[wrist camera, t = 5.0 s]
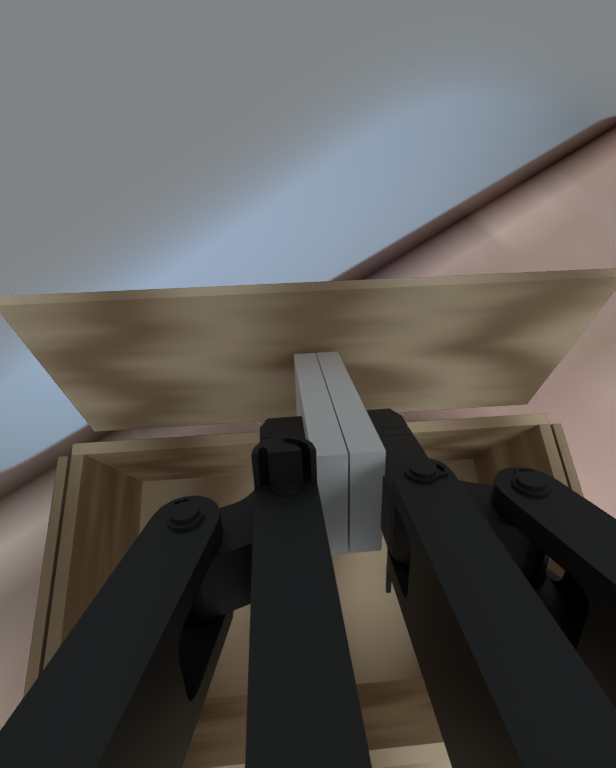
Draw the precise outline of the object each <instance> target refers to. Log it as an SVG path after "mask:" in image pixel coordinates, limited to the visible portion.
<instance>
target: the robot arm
mask: <svg viewBox="0 0 616 768" xmlns="http://www.w3.org/2000/svg"><path fill="white" fill-rule="evenodd" d="M294 367H295V386H296V406H297V416H295V417H281V418H268V419H267V420H266V421H265V422H264V423H263V425H262V426H261V427H260V443H259V444H257V445H256V446H255V447H254V448H253V451H252V453H251V459H252V469H253V478H254V491H253V492H252V493H250V494H249V495H248V496H247V497H245V498H244V499H242V500H240V501H238V502H236V503H233V504H231V505H227V506H224V507H221V508H219V507H218V504H217V503H216V502H215V501H213V500H212V499H210V498H208V497H203V496H185V497H182V498H178V499H175V500H172V501H170V502H169V503H167V504H165V505H163V506H162V507H161V508H160V509H159V510H158V511H157V512H156V513H155V514H154V515H153V516H152V517H151V519H150V520H149V521H148V523H147V524H146V526H145V527H144V528H143V530H142V531H141V533H140V534H139V536H138V537H137V538H136V540H135V541H134V543H133V544H132V545H131V547H130V548H129V550H128V551H127V552H126V554H125V555H124V557H123V558H122V560H121V561H120V562H119V564H118V565H117V567H116V568H115V569H114V571H113V572H112V574H111V575H110V577H109V578H108V579H107V581H106V582H105V584H104V585H103V586H102V588H101V589H100V591H99V592H98V593H97V595H96V596H95V598H94V599H93V601H92V602H91V603H90V605H89V606H88V608H87V609H86V610H85V612H84V613H83V615H82V616H81V617H80V619H79V620H78V622H77V623H76V625H75V626H74V627H73V629H72V630H71V632H70V633H69V634H68V636H67V637H66V639H65V640H64V641H63V643H62V644H61V646H60V647H59V649H58V650H57V651H56V653H55V654H54V656H53V657H52V658H51V660H50V661H49V663H48V664H47V665H46V667H45V668H44V670H43V671H42V673H41V674H40V675H39V677H38V678H37V680H36V681H35V682H34V684H33V685H32V687H31V688H30V689H29V691H28V692H27V694H26V695H25V697H24V698H23V699H22V701H21V702H20V704H19V705H18V706H17V708H16V709H15V711H14V712H13V713H12V715H11V716H10V718H9V719H8V721H7V722H6V723H5V725H4V726H3V728H2V729H1V730H0V768H182V766H183V763H184V760H185V757H186V754H187V751H188V748H189V745H190V742H191V739H192V737H193V734H194V731H195V728H196V725H197V722H198V719H199V716H200V713H201V710H202V707H203V704H204V701H205V698H206V695H207V693H208V690H209V687H210V684H211V681H212V678H213V675H214V672H215V669H216V666H217V663H218V660H219V657H220V654H221V651H222V649H223V646H224V643H225V640H226V637H227V634H228V631H229V628H230V625H231V622H232V619H233V614H234V610H237V609H239V608H242V607H244V606H247V605H249V604H251V606H250V635H249V664H248V694H247V723H246V752H245V768H372V765H371V759H370V754H369V749H368V744H367V739H366V733H365V728H364V723H363V718H362V713H361V707H360V702H359V697H358V692H357V687H356V681H355V676H354V671H353V666H352V661H351V655H350V650H349V645H348V640H347V635H346V629H345V624H344V619H343V614H342V609H341V603H340V598H339V593H338V588H337V583H336V577H335V572H334V567H333V562H332V557H331V555H338V554H348V549H349V553H358V552H368V551H379V550H381V548H382V533H383V536H384V539H385V542H386V545H387V565H386V584H385V585H386V593H391V583H392V584H393V587H394V590H395V593H396V596H397V599H398V602H399V606H400V609H401V612H402V615H403V618H404V621H405V624H406V627H407V630H408V633H409V636H410V639H411V643H412V646H413V649H414V652H415V655H416V658H417V661H418V664H419V667H420V670H421V673H422V676H423V680H424V683H425V686H426V689H427V692H428V695H429V698H430V701H431V704H432V707H433V710H434V714H435V717H436V720H437V723H438V726H439V729H440V732H441V735H442V738H443V741H444V744H445V747H446V751H447V754H448V757H449V760H450V763H451V766H452V768H616V519H615V518H613V517H612V516H610V515H609V514H607V513H606V512H604V511H603V510H601V509H600V508H598V507H597V506H596V505H594V504H593V503H591V502H590V501H588V500H587V499H585V498H584V497H582V496H581V495H579V494H578V493H576V492H575V491H573V490H572V489H570V488H569V487H567V486H566V485H564V484H563V483H561V482H560V481H558V480H557V479H555V478H553V477H551V476H550V475H548V474H546V473H544V472H541V471H537V470H534V469H532V468H526V467H525V468H524V467H511V468H505V469H503V470H501V471H499V472H498V473H497V474H496V476H495V478H494V484H493V485H489V484H481V483H472V482H466V481H461V480H458V478H457V477H456V475H455V474H454V473H453V471H452V470H451V469H450V468H449V467H448V466H447V465H445V464H443V463H441V462H439V461H437V460H435V459H430V458H428V456H427V455H426V453H425V451H424V450H423V448H422V447H421V445H420V444H419V442H418V441H417V439H416V437H415V436H414V435H413V433H412V431H411V430H410V428H409V427H408V425H407V423H406V422H405V420H404V419H403V417H402V416H401V415H399V414H398V413H396V412H395V411H393V410H391V409H390V408H387V409H373V410H366V409H365V407H364V405H363V403H362V401H361V399H360V397H359V395H358V392H357V390H356V388H355V386H354V384H353V382H352V380H351V378H350V376H349V374H348V372H347V370H346V368H345V366H344V364H343V362H342V359H341V357H340V355H339V353H338V351H337V352H321V353H305V354H294ZM551 559H552V560H553V561H554V562H556V563H557V564H558V565H559V566H560V567H561V568H562V569H563V570H565V572H564V576H563V578H562V577H559V576H558V575H556V574H555V573H554V572H552V571H551V570H550V569H549V567H550V563H551Z"/></svg>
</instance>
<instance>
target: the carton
mask: <svg viewBox="0 0 616 768" xmlns="http://www.w3.org/2000/svg"><path fill="white" fill-rule="evenodd" d="M406 423H407V425H408V427H409V428H410V430H411V431H412V433H413V435H414V436H415V437H416V439H417V441H418V442H419V444H420V445H421V447H422V448H423V450H424V451H425V453H426V455H427V456H428V458H430V459H435V460H437V461H439V462H441V463H443V464H445V465H447V466H448V467H449V468H450V469H451V470H452V471H453V473H454V474H455V475H456V477H457V478H458V480H461V481H466V482H472V483H481V484H489V485H493V484H494V478H495V476H496V474H497V473H498V472H499V471H501V470H503V469H505V468H511V467H524V468H525V467H526V468H532V469H534V470H537V471H541V472H544V473H546V474H548V475H550V476H551V477H553V478H555V479H557V480H558V481H560V482H561V483H563V484H564V485H566V486H567V487H569V488H570V489H572V490H573V491H575V492H576V493H578V494H579V495H581V496H582V497H584V496H583V493H582V490H581V487H580V483H579V480H578V477H577V474H576V470H575V467H574V464H573V461H572V457H571V454H570V451H569V448H568V444H567V441H566V438H565V435H564V431H563V428H562V425H561V424H552V425H550V423H549V420H548V417H547V413H542V414H526V415H511V416H495V417H480V418H464V419H449V420H434V421H418V422H406ZM259 443H260V432H248V433H232V434H217V435H201V436H186V437H170V438H155V439H139V440H124V441H108V442H93V443H77V444H73V448H72V456H71V457H69V456H62V457H58V462H57V469H56V475H55V482H54V489H53V496H52V503H51V510H50V517H49V524H48V531H47V538H46V545H45V552H44V559H43V565H42V572H41V579H40V586H39V593H38V600H37V607H36V614H35V621H34V628H33V635H32V642H31V649H30V656H29V662H28V669H27V676H26V683H25V690H24V697H25V695H26V694H27V692H28V691H29V689H30V688H31V687H32V685H33V684H34V682H35V681H36V680H37V678H38V677H39V675H40V674H41V673H42V671H43V670H44V668H45V667H46V665H47V664H48V663H49V661H50V660H51V658H52V657H53V656H54V654H55V653H56V651H57V650H58V649H59V647H60V646H61V644H62V643H63V641H64V640H65V639H66V637H67V636H68V634H69V633H70V632H71V630H72V629H73V627H74V626H75V625H76V623H77V622H78V620H79V619H80V617H81V616H82V615H83V613H84V612H85V610H86V609H87V608H88V606H89V605H90V603H91V602H92V601H93V599H94V598H95V596H96V595H97V593H98V592H99V591H100V589H101V588H102V586H103V585H104V584H105V582H106V581H107V579H108V578H109V577H110V575H111V574H112V572H113V571H114V569H115V568H116V567H117V565H118V564H119V562H120V561H121V560H122V558H123V557H124V555H125V554H126V552H127V551H128V550H129V548H130V547H131V545H132V544H133V543H134V541H135V540H136V538H137V537H138V536H139V534H140V533H141V531H142V530H143V528H144V527H145V526H146V524H147V523H148V521H149V520H150V519H151V517H152V516H153V515H154V514H155V513H156V512H157V511H158V510H159V509H160V508H161V507H162V506H163V505H165V504H167V503H169V502H170V501H172V500H175V499H178V498H182V497H185V496H203V497H208V498H210V499H212V500H213V501H215V502H216V503H217V504H218V507H219V508H221V507H224V506H227V505H231V504H233V503H236V502H238V501H240V500H242V499H244V498H245V497H247V496H248V495H249V494H250V493H252V492H253V491H254V478H253V469H252V459H251V453H252V451H253V448H254V447H255V446H256V445H257V444H259ZM331 557H332V562H333V567H334V572H335V577H336V583H337V588H338V593H339V598H340V603H341V609H342V614H343V619H344V624H345V629H346V635H347V640H348V645H349V650H350V655H351V661H352V666H353V671H354V676H355V681H356V687H357V692H358V697H359V702H360V707H361V713H362V718H363V723H364V728H365V733H366V739H367V744H368V749H369V754H370V759H371V765H372V768H452V766H451V763H450V760H449V757H448V754H447V751H446V747H445V744H444V741H443V738H442V735H441V732H440V729H439V726H438V723H437V720H436V717H435V714H434V710H433V707H432V704H431V701H430V698H429V695H428V692H427V689H426V686H425V683H424V680H423V676H422V673H421V670H420V667H419V664H418V661H417V658H416V655H415V652H414V649H413V646H412V643H411V639H410V636H409V633H408V630H407V627H406V624H405V621H404V618H403V615H402V612H401V609H400V606H399V602H398V599H397V596H396V593H395V590H394V587H393V584H392V583H391V593H386V585H385V584H386V565H387V545H386V542H385V539H384V536H383V533H382V548H381V550H379V551H368V552H358V553H349V549H348V554H338V555H331ZM549 569H550V570H551V571H552V572H554V573H555V574H556V575H558V576H559V577H562V578H563V576H564V572H565V570H563V569H562V568H561V567H560V566H559V565H558V564H557V563H556V562H554V561H553V560H552V559H551V563H550V567H549ZM250 606H251V604H249V605H247V606H244V607H242V608H239V609H237V610H234V614H233V619H232V622H231V625H230V628H229V631H228V634H227V637H226V640H225V643H224V646H223V649H222V651H221V654H220V657H219V660H218V663H217V666H216V669H215V672H214V675H213V678H212V681H211V684H210V687H209V690H208V693H207V695H206V698H205V701H204V704H203V707H202V710H201V713H200V716H199V719H198V722H197V725H196V728H195V731H194V734H193V737H192V739H191V742H190V745H189V748H188V751H187V754H186V757H185V760H184V763H183V766H182V768H245V752H246V723H247V694H248V664H249V635H250ZM24 697H23V698H24Z"/></svg>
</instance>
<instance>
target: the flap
mask: <svg viewBox="0 0 616 768" xmlns="http://www.w3.org/2000/svg"><path fill="white" fill-rule="evenodd" d="M615 290H616V268H613V269H591V270H569V271H547V272H525V273H503V274H481V275H459V276H437V277H414V278H392V279H370V280H348V281H326V282H306V283H305V282H304V283H283V284H260V285H239V286H217V287H196V288H195V287H194V288H172V289H150V290H128V291H106V292H84V293H64V294H63V293H62V294H40V295H19V296H0V313H1V315H2V316H3V317H4V318H5V320H6V321H7V322H8V323H9V325H10V326H11V327H12V328H13V330H14V331H15V332H16V334H17V335H18V336H19V337H20V338H21V340H22V341H23V342H24V343H25V345H26V346H27V347H28V348H29V350H30V351H31V352H32V354H33V355H34V356H35V357H36V359H37V360H38V361H39V362H40V364H41V365H42V366H43V367H44V368H45V370H46V371H47V372H48V374H49V375H50V376H51V377H52V379H53V380H54V381H55V383H56V384H57V385H58V386H59V388H60V389H61V390H62V391H63V393H64V394H65V395H66V396H67V398H68V399H69V400H70V401H71V403H72V404H73V405H74V406H75V408H76V409H77V410H78V411H79V413H80V414H81V415H82V416H83V418H84V419H85V420H86V421H87V423H88V424H89V425H90V427H91V428H92V429H93V430H94V431H110V430H126V429H142V428H158V427H174V426H189V425H205V424H221V423H237V422H253V421H266V420H267V419H268V418H281V417H295V416H297V406H296V386H295V367H294V354H305V353H321V352H337V351H338V353H339V355H340V357H341V359H342V362H343V364H344V366H345V368H346V370H347V372H348V374H349V376H350V378H351V380H352V382H353V384H354V386H355V388H356V390H357V392H358V395H359V397H360V399H361V401H362V403H363V405H364V407H365V409H366V410H373V409H387V408H390V409H391V410H393V411H395V412H411V411H427V410H443V409H458V408H474V407H490V406H506V405H522V404H527V403H528V402H529V401H530V399H531V398H532V397H533V396H534V394H535V393H536V392H537V390H538V389H539V388H540V387H541V385H542V384H543V383H544V381H545V380H546V379H547V378H548V376H549V375H550V374H551V372H552V371H553V370H554V368H555V367H556V366H557V365H558V363H559V362H560V361H561V359H562V358H563V357H564V356H565V354H566V353H567V352H568V350H569V349H570V348H571V347H572V345H573V344H574V343H575V341H576V340H577V339H578V337H579V336H580V335H581V334H582V332H583V331H584V330H585V328H586V327H587V326H588V325H589V323H590V322H591V321H592V319H593V318H594V317H595V316H596V314H597V313H598V312H599V310H600V309H601V308H602V306H603V305H604V304H605V303H606V301H607V300H608V299H609V297H610V296H611V295H612V294H613V292H614V291H615Z"/></svg>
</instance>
